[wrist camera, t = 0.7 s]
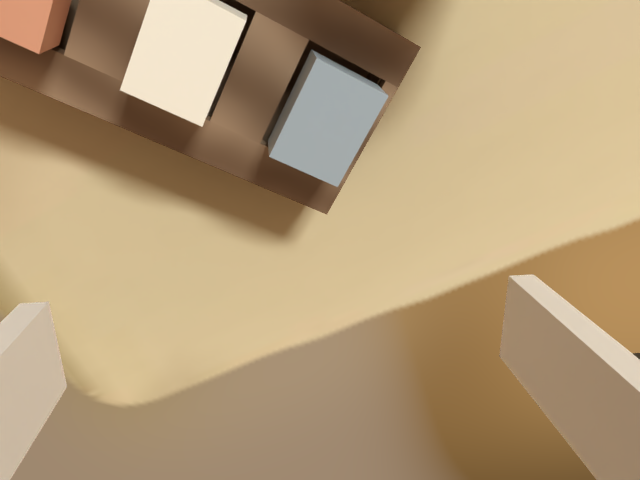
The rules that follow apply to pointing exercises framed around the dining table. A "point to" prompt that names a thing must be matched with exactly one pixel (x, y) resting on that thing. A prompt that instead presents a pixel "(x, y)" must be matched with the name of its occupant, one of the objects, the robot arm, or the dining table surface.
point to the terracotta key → (33, 22)
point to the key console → (235, 88)
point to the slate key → (325, 119)
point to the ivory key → (183, 55)
